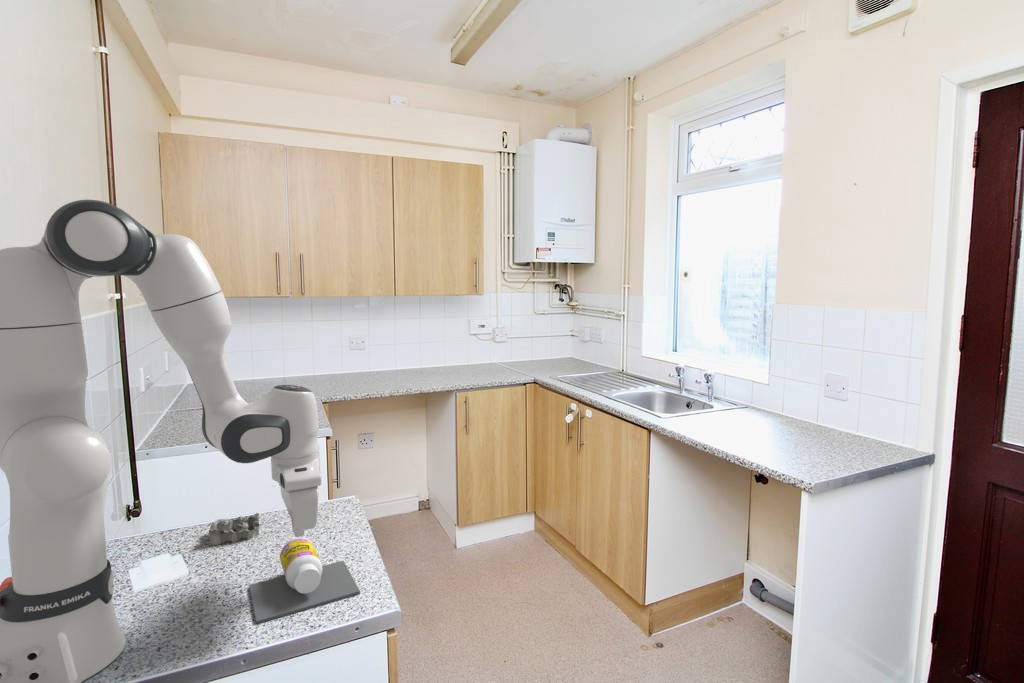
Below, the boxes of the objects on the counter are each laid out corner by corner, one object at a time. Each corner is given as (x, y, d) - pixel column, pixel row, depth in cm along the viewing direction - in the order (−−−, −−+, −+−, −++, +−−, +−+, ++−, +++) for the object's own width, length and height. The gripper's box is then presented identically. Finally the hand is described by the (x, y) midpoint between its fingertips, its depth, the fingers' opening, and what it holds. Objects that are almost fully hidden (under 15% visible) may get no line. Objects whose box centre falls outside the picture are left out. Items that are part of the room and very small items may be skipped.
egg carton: (207, 548, 118) (205, 530, 118) (211, 533, 125) (210, 517, 125) (259, 539, 122) (258, 522, 122) (261, 525, 129) (260, 510, 129)
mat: (256, 624, 91) (256, 621, 91) (249, 587, 102) (249, 584, 102) (359, 593, 101) (359, 591, 101) (343, 562, 112) (343, 560, 112)
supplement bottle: (309, 530, 110) (322, 557, 99) (316, 558, 111) (330, 588, 100) (275, 544, 106) (285, 574, 95) (283, 573, 108) (294, 605, 97)
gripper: (271, 454, 110) (274, 517, 112) (286, 486, 93) (289, 560, 94) (303, 449, 113) (305, 511, 115) (323, 479, 96) (325, 551, 97)
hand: (298, 533), depth 104 cm, fingers closed
